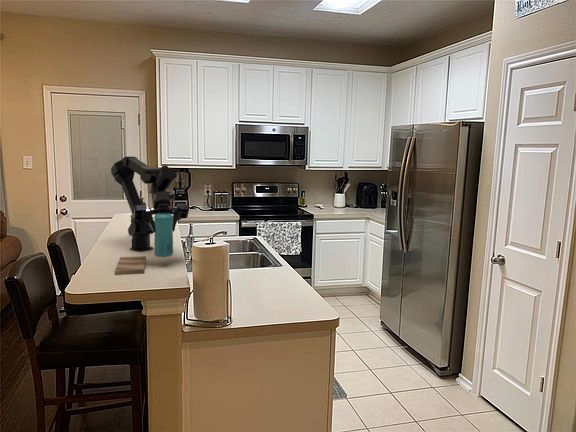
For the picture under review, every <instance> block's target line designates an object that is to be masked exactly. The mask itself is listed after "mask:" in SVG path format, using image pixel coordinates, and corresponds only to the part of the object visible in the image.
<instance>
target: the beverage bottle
mask: <svg viewBox="0 0 576 432" xmlns="http://www.w3.org/2000/svg"><path fill="white" fill-rule="evenodd" d="M170 209H171V208H170V206H169V204H167V203H160V204H158V207H157V210H170ZM153 218H154V222H155V233H154V239H153V240H154V249H153V250H154V256H156V257H159V258H167V257H172V256H173V254H174V232H173V214H170V213H166V212H160V213H157V214H156V215H155V214H154V216H153Z"/></svg>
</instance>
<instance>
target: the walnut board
mask: <svg viewBox="0 0 576 432" xmlns="http://www.w3.org/2000/svg"><path fill="white" fill-rule="evenodd" d="M146 262H147V255H137V256H120V258H119V260H118V261H117V265H116V267H115V270H114V275H116V276H117V275H133V274H134V275H135V274H136V275H137V274H139V275H140V274H144V273H145V267H146Z"/></svg>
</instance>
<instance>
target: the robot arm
mask: <svg viewBox="0 0 576 432" xmlns="http://www.w3.org/2000/svg"><path fill="white" fill-rule="evenodd" d="M110 173H111V175H112V177H113V179H114V181H115V182H117V184H119V185H121V189H122V190H123V193H124V197H125V198H126V200H127V204H128V207H129V209H130V212H131V214H132V218H131V217H130V224H129V227H128V229H127V233H128V235H129V236H131V237H132V238H131V247H130V248H129V249H130V250H133V251H137V252H142V251H149V250H152V249H153V247H152V246H151V235H153V234H155V218H154V216H155V215H156V214H157V213H160V212H166V213H170V214H171V215H172V216H173V233H174V232H175V230H176V225H177V223H178V221H181V220H182V219H187V218H188V216H189V211H190V207H189V205H188V204H186V203H185V204H180V203H179V204H176V208H175V207H174V208H170V210H157V207H158V204H160V203H167V204H169V207H171V201H175V199H176V193H175V190H172V189H171V190H169V191H168V189H170V188H171V187H172V185H173V183H174V182H175V180H176V179H177V175H178V174H177V172H176V171H175V170H174V169H172V168H171V167H169V166H168V165H162V166H161V168H159V167H155V166H149V165H147V164H146V163H145V162H143V161H142V160H140V159H138V157H137V156H123V158H121V159H120V160H118V161H117V162H115V163H114V164H113V165H112V166H111V169H110ZM135 174H137V175H139V176H140V177H139V179H140V180H141V181H142V183H144V184H146V185H148V184H150V189H149V194H150V195H151V202H152V208H150V207H147V204H146V205H142V203H141V200H140V198H139V197H140V196H139V193H138V190H137V188H136V185H135V183H134V177H135ZM153 215H154V216H153ZM153 250H154V249H153Z"/></svg>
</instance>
